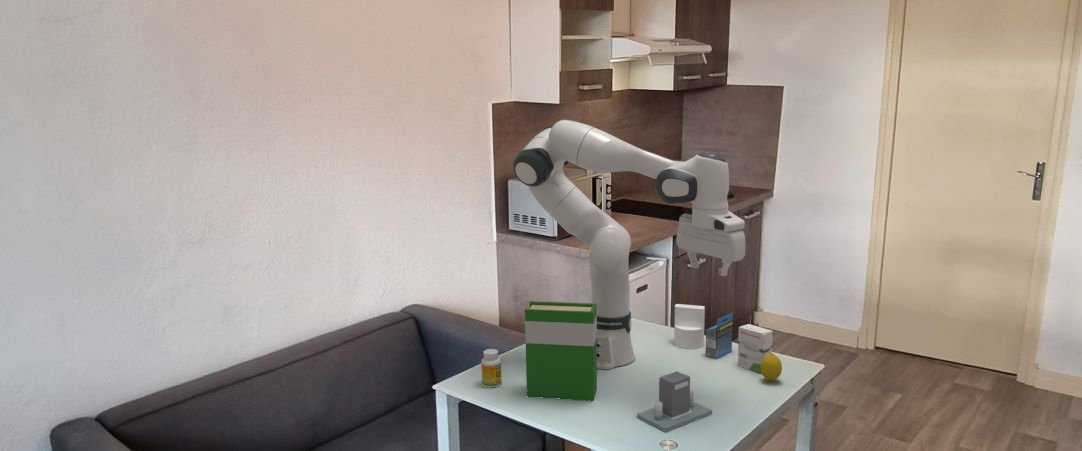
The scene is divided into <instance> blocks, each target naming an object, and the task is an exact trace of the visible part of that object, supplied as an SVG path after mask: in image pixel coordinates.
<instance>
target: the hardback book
mask: <svg viewBox="0 0 1082 451" xmlns="http://www.w3.org/2000/svg"><path fill="white" fill-rule="evenodd" d="M524 330H525V331H524V334H525V335H524V336H525V337H524V338H525V339H524V340H525V370H526V371H525V374H526V375H525V379H526V380H525V382H526V397H527V396H528V397H527V398H532V397H543V398H542V399H549V398H555V399H554V400H557V399H556V398H560V399H559V400H566V399H571V400H572V401H583V400H585V401H587V402H594V401H595V399H596V394H597V391H598V368H597V304H593V303H591V302H585V303H584V302H564V301H563V302H561V301H559V302H558V301H535V300H534V301H533V300H530V301H529V308H524ZM588 400H590V401H588ZM585 401H584V402H585Z"/></svg>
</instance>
